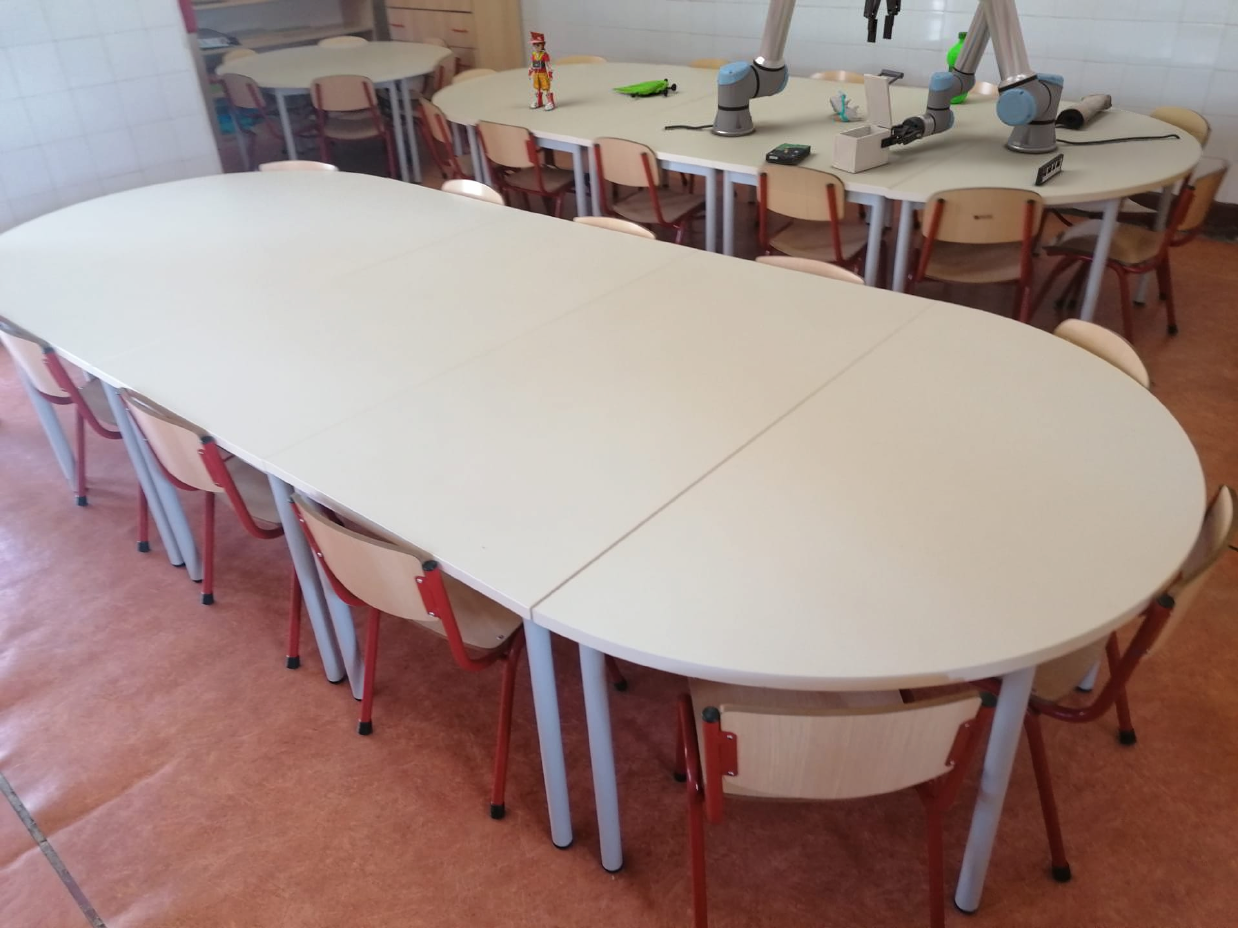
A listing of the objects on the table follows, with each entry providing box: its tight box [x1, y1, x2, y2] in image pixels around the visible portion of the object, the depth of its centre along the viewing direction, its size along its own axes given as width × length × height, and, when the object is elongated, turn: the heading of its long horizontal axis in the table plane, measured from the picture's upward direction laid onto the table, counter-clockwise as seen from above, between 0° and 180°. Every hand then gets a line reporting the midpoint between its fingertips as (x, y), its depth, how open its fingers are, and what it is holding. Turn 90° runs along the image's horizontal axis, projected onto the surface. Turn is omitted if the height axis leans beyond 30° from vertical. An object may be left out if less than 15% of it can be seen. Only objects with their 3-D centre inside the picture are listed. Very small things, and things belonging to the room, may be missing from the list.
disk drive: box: [765, 142, 812, 165], centre depth 304 cm, size 10×3×15 cm
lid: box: [863, 68, 905, 129], centre depth 288 cm, size 16×9×9 cm
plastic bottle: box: [946, 31, 969, 104], centre depth 348 cm, size 10×10×25 cm
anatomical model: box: [829, 90, 864, 122], centre depth 342 cm, size 15×10×10 cm
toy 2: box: [612, 78, 677, 99], centre depth 396 cm, size 28×5×30 cm
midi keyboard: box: [1035, 153, 1065, 186], centre depth 273 cm, size 18×1×5 cm, turn 138°
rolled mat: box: [1055, 93, 1113, 130], centre depth 324 cm, size 30×9×10 cm
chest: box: [832, 124, 891, 174], centre depth 292 cm, size 16×9×11 cm, turn 124°
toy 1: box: [527, 31, 556, 111], centre depth 374 cm, size 12×9×30 cm
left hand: (879, 40), depth 275 cm, fingers open, 6 cm apart
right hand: (870, 140), depth 293 cm, fingers closed on chest, 9 cm apart
